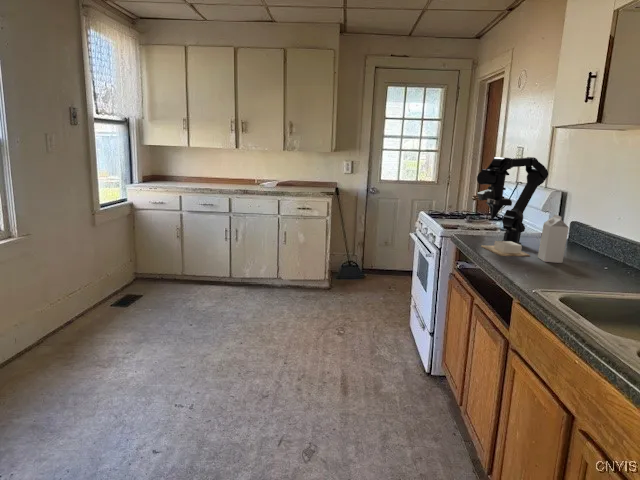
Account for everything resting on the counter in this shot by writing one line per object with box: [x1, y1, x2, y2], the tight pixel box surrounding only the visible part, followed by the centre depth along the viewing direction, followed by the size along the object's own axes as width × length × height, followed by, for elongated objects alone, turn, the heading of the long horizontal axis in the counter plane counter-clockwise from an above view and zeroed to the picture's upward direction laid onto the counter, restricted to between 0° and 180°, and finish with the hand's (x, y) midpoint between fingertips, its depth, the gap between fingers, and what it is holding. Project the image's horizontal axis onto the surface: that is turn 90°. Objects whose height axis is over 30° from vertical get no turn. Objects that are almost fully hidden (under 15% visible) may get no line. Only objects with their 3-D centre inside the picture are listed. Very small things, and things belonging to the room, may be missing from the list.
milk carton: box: [537, 213, 570, 264], centre depth 179 cm, size 7×7×19 cm
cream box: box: [493, 240, 523, 253], centre depth 190 cm, size 8×4×8 cm
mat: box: [480, 244, 531, 257], centre depth 193 cm, size 14×16×1 cm
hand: (492, 218), depth 203 cm, fingers closed
